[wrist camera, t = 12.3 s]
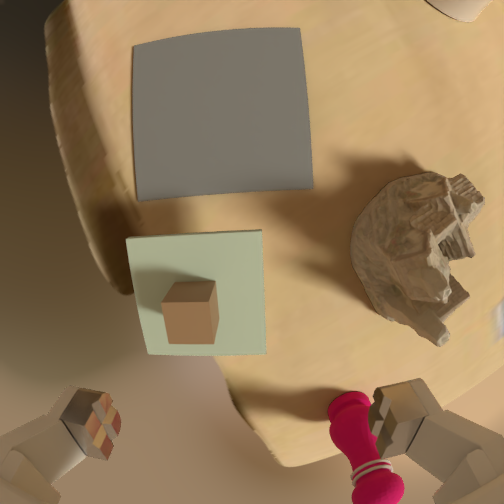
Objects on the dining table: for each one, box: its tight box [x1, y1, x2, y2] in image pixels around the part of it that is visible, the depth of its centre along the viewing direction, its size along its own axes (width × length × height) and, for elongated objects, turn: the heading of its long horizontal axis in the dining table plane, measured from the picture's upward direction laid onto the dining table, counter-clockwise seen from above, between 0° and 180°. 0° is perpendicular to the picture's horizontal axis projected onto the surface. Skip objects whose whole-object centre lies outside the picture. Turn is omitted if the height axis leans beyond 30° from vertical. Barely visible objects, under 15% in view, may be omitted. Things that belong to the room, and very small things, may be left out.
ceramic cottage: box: [350, 172, 485, 347], centre depth 24 cm, size 16×16×15 cm
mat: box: [133, 28, 313, 202], centre depth 27 cm, size 18×18×1 cm
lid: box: [126, 229, 266, 356], centre depth 22 cm, size 11×11×5 cm
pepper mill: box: [328, 392, 404, 504], centre depth 27 cm, size 7×7×20 cm
